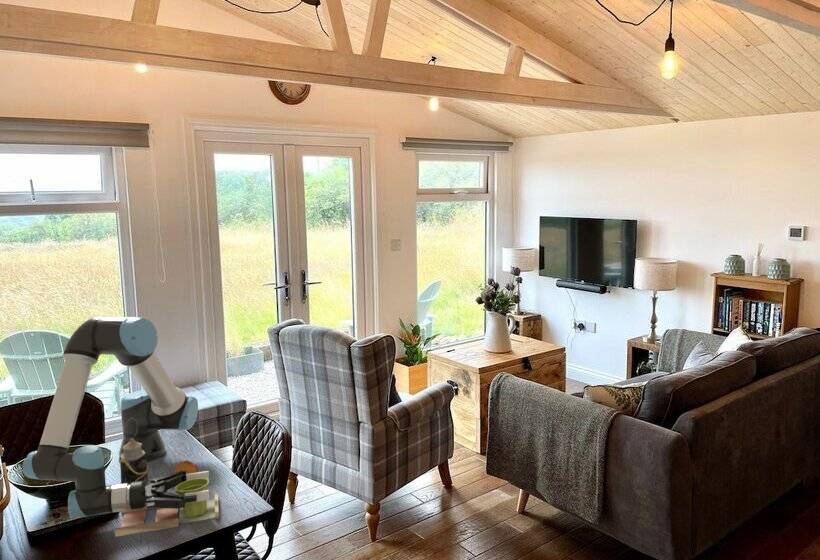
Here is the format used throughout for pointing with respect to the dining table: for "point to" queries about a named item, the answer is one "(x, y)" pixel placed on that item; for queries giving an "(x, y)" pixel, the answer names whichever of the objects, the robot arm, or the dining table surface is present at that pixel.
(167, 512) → the trap box
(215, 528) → the dining table surface
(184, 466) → the fruit
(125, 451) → the lantern
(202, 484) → the plant pot
